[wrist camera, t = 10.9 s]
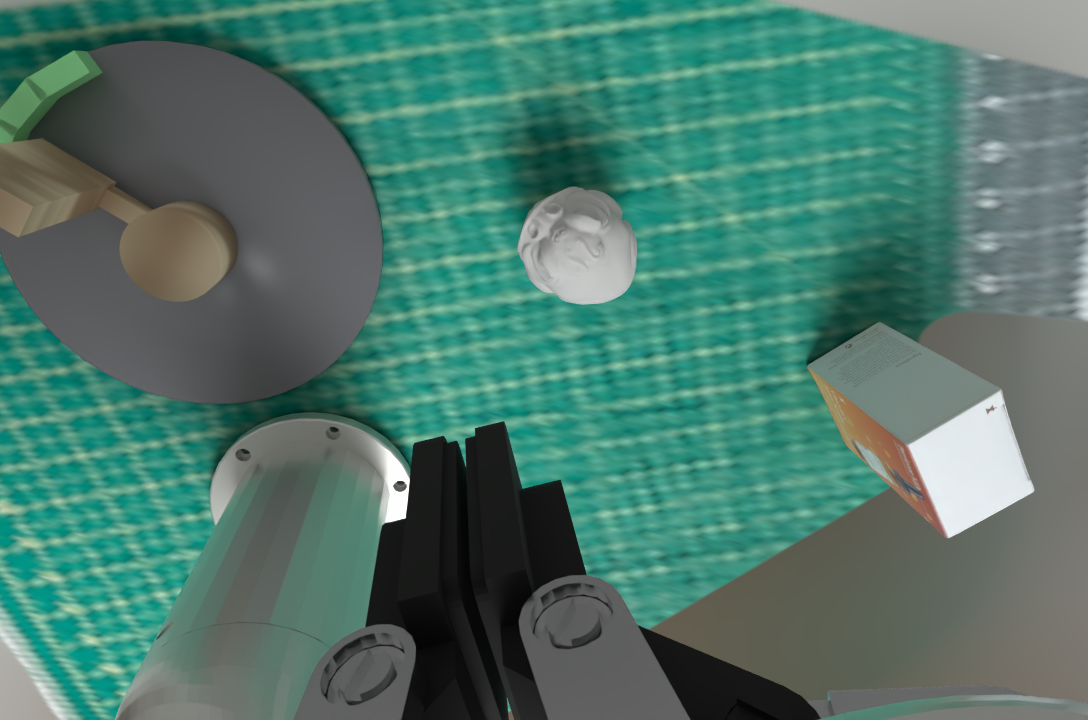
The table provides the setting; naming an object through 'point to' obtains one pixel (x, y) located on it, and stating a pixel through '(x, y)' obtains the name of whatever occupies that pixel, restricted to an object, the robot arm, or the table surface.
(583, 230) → the grey rounded lump
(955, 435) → the small box
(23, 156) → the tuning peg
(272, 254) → the dial face
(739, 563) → the table surface
